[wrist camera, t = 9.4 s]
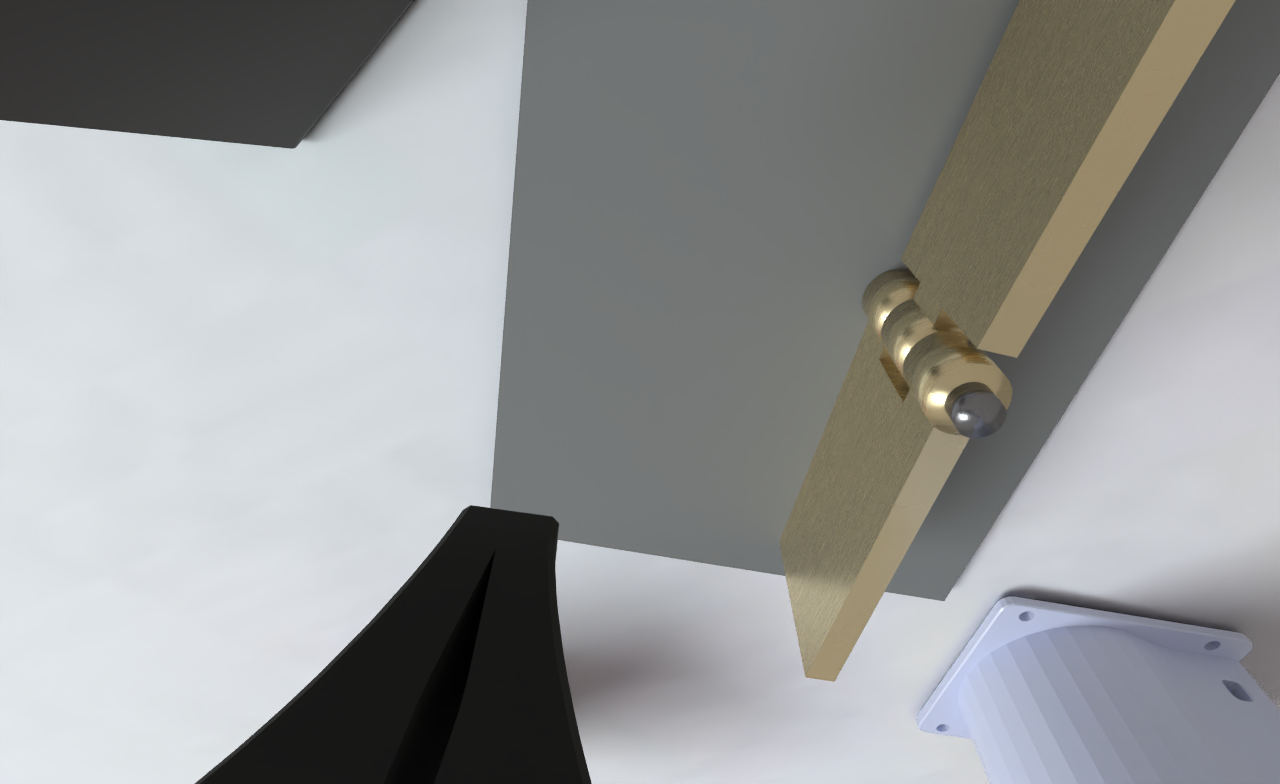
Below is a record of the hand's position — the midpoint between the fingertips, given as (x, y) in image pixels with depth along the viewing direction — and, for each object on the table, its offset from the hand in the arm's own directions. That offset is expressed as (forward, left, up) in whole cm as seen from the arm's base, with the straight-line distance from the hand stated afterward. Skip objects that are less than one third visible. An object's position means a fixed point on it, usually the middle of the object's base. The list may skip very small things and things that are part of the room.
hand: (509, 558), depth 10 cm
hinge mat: (-6, -2, -9) cm, 11 cm away
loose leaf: (-8, -6, -9) cm, 13 cm away
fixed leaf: (-8, +2, -9) cm, 12 cm away
